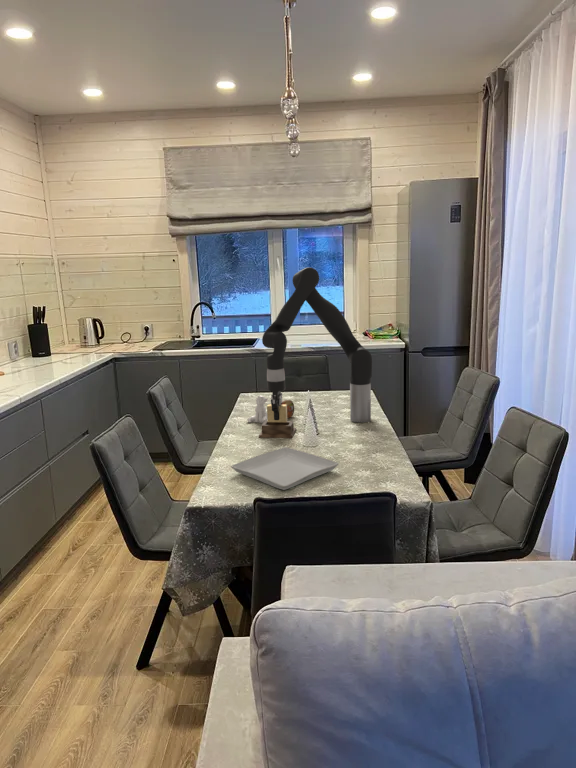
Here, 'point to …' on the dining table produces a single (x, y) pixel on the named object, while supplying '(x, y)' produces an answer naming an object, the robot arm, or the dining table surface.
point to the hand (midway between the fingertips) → (277, 418)
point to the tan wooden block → (281, 413)
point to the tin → (289, 407)
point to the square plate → (285, 467)
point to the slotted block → (277, 430)
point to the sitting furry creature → (259, 411)
